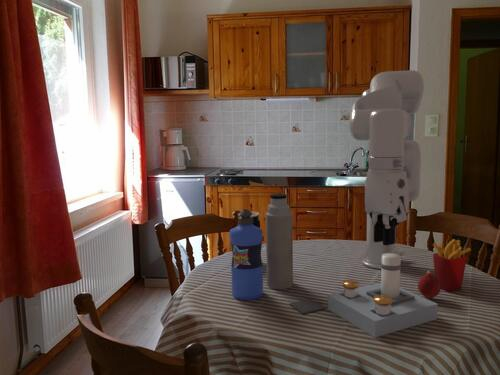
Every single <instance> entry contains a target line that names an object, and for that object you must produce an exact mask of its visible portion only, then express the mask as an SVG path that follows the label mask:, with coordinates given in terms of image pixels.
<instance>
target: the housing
mask: <svg viewBox="0 0 500 375" xmlns="http://www.w3.org/2000/svg"><path fill="white" fill-rule="evenodd" d="M376 295H381V282H378V283H374V284H370V285H365V286H359V287H358V298H354V299H350V300H349V299H347V298H345V297H344V290H343V291H339V292H334V293H331V294H328V295H327V310H329V311H330V312H332V313H334V314H335V315H337V316H338V317H340V318H341V319H343V320H345V321H347V322H348V323H350V324H351V325H353V326H355V327H356V328H358V329H360V330H362V331H363V332H364V333H366V334H368V335H369V336H371V337H372V338H375V339H376V338H379V337H383V336H386V335H389V334H392V333H396V332H399V331H402V330H406V329H408V328H409V329H410V328H413V327H415V326H419V325H422V324H426V323H429V322H432V321H436V320H438V312H439V311H438V310H439V308H438V307H439V304H438V303H436V302H434V301H432V300H431V299H426V298H425V297H424V296H421V295H418V294H416V293H413V291H412V292H411V291H409V290H406V289H404V288H402V287H400V298H397V299H393V300H392V304H391V315H389V316H385V317H380V316H379V315H377V314H375V302H374V296H376Z"/></svg>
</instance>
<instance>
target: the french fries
mask: <svg viewBox="0 0 500 375" xmlns="http://www.w3.org/2000/svg"><path fill="white" fill-rule="evenodd" d="M432 246H433V247H434V249H435V250H436V252H437V253H433V254H432V257H433V258H432V260H433V267H434V268H433V269H434V270H433V271H434V272H433V273H434V276H435V277H436V278H437V279H438V280H439V282H440V288H441V289H440V290H443V291H445V292H447V293H450V292H455V291H456V292H457V291H461V290H462V286H463V281H464V276H465V275H464V274H465V269H466V263H467V259H468V258H467V257H466V256H464V254H467V253H468V252H471V251H472V249H471V248H470V247H466V248H465V249H463V247H462V246H461V240H459V239H457V240H456V239H454V238H453V239H452V240H450V241H449V242H448V243H447V244H446V246H445V247H444V244H442V243H439V245H438V244H437V243H436V242H434V243H432ZM462 249H463V250H462Z"/></svg>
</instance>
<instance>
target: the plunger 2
mask: <svg viewBox="0 0 500 375" xmlns="http://www.w3.org/2000/svg"><path fill="white" fill-rule="evenodd" d="M374 302H375V314H377V315H379V316H380V317H385V316H389V315H391V304H392V298H391V297H390V296H386V295H376V296H374Z"/></svg>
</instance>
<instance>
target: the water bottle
mask: <svg viewBox="0 0 500 375" xmlns="http://www.w3.org/2000/svg"><path fill="white" fill-rule="evenodd" d="M251 212H252V211H250V210H249V209H247V208H244V209H241V211H239V213H238V214H239V215H240V216H241V217H239V216H238V217H237V219H238V220H237V223H239V225H237V226H235V227H234V228H231V229H230V230H229V243H230V246H231V248H230V249H231V254H232V257H231V268H230V269H231V296H232V297H233V298H234V299H236V300H241V301H254V300H258V299H260V298H262V296H264V275H263V274H264V270H263V268H264V267H263V266H264V265H263V261H262V245H263V229H262V228H261V227H260V228H258V227H256V226H254V225H253V224H252V223H253V217H251V215H252V213H251Z"/></svg>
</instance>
